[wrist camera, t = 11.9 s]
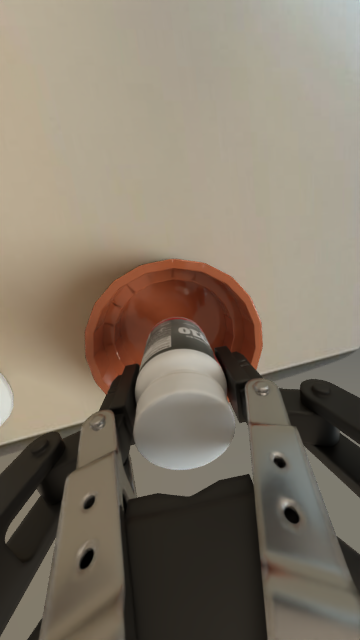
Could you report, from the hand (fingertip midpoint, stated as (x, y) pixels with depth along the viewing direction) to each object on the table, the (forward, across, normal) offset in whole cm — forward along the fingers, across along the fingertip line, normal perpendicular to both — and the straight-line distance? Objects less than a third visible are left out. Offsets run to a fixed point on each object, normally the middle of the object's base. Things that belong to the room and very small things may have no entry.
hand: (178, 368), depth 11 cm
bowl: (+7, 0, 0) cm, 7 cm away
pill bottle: (+4, 0, 0) cm, 4 cm away
